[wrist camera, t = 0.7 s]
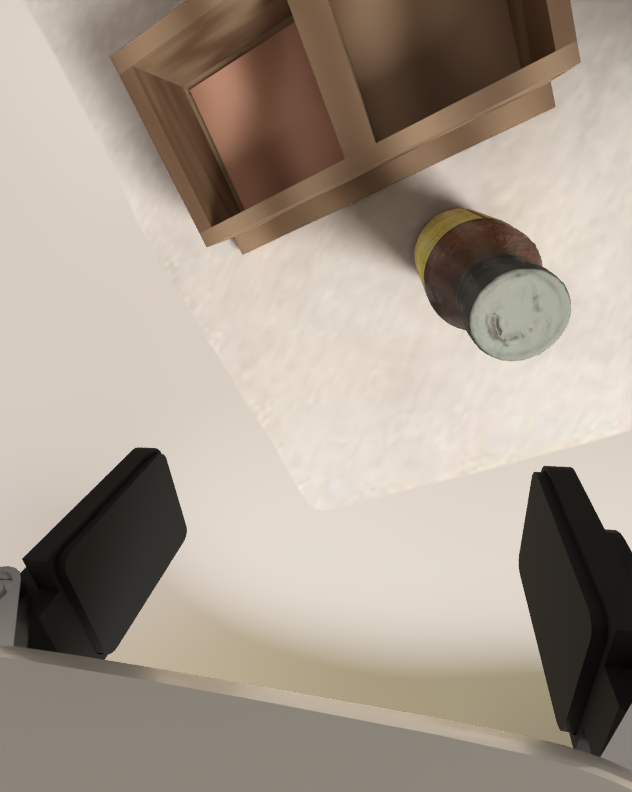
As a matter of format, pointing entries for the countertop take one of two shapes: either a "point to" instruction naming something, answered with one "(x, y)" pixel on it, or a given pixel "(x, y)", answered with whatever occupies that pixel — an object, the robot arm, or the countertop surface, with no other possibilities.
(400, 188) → the countertop surface
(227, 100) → the caddy
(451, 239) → the sauce bottle
